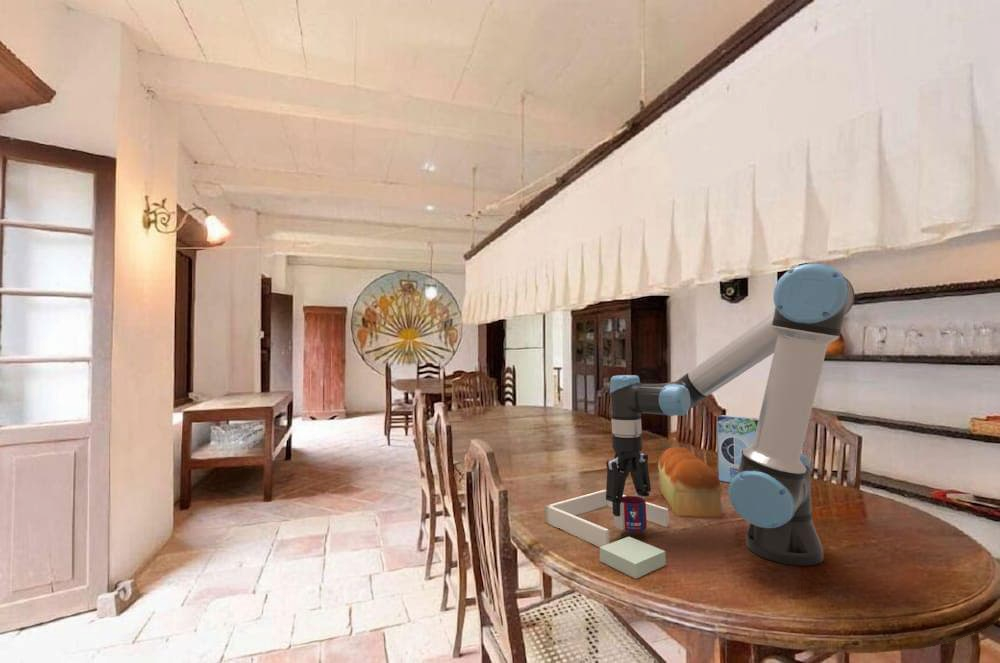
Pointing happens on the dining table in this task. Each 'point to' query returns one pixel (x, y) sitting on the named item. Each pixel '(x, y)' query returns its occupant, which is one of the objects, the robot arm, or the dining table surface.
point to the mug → (634, 513)
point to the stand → (632, 557)
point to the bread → (689, 484)
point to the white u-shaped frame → (588, 531)
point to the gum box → (733, 443)
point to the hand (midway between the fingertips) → (630, 524)
